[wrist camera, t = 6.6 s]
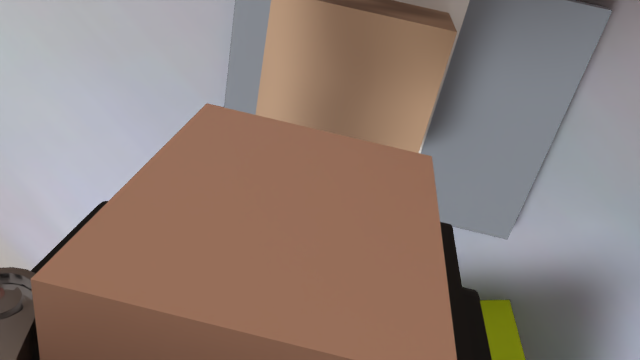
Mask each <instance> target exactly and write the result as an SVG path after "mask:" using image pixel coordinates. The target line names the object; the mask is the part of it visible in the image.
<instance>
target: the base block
mask: <svg viewBox="0 0 640 360" xmlns="http://www.w3.org/2000/svg"><path fill="white" fill-rule="evenodd" d="M456 34H457V30H456V28H455V26H454V24H453V21H452V19H451V17H450V14H449V13H447V12H443V11H438V10H434V9H429V8H425V7H421V6H416V5H412V4H407V3H403V2H398V1H394V0H271V5H270V13H269V20H268V27H267V34H266V42H265V49H264V56H263V64H262V71H261V78H260V86H259V93H258V100H257V107H256V115H258V116H262V117H267V118H271V119H275V120H279V121H284V122H288V123H292V124H296V125H301V126H305V127H309V128H314V129H318V130H322V131H326V132H331V133H335V134H339V135H343V136H348V137H352V138H356V139H360V140H365V141H369V142H373V143H377V144H382V145H386V146H390V147H394V148H399V149H403V150H407V151H411V152H416V153H419V150H420V147H421V144H422V141H423V138H424V135H425V131H426V128H427V125H428V122H429V119H430V116H431V113H432V109H433V106H434V103H435V100H436V97H437V94H438V91H439V88H440V84H441V81H442V78H443V75H444V72H445V69H446V66H447V63H448V59H449V56H450V53H451V50H452V47H453V44H454V41H455V37H456Z"/></svg>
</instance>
